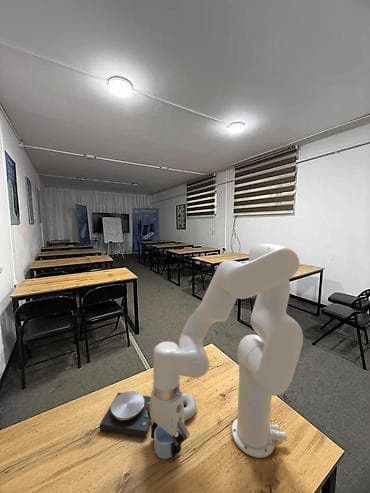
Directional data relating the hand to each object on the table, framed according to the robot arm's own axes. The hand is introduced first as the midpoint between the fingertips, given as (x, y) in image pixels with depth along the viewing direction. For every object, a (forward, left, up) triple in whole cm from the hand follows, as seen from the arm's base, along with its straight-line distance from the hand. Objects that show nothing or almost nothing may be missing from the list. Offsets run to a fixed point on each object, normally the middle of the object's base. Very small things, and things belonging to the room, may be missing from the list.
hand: (165, 443), depth 61 cm
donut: (-3, -13, -1) cm, 13 cm away
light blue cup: (0, 0, -1) cm, 1 cm away
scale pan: (+15, -8, +3) cm, 17 cm away
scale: (+14, -8, -1) cm, 16 cm away
